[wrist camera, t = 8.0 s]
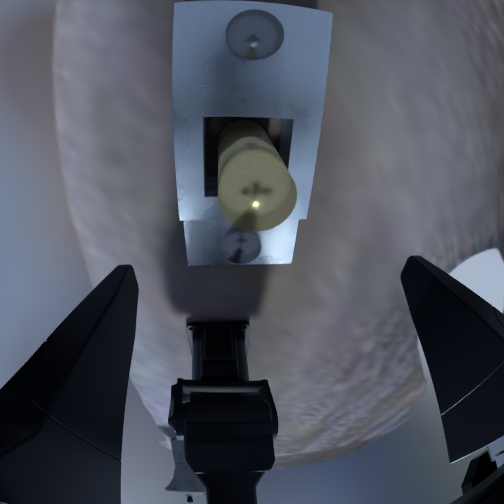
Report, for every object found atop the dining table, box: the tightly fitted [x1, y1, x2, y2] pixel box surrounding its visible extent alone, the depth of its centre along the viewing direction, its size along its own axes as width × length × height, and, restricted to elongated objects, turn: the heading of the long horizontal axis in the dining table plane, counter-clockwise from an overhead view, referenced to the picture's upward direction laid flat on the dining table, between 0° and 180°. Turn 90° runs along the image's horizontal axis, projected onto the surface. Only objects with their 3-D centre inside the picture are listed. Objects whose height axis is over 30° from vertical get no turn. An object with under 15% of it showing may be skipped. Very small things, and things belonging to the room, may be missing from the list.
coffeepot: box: [165, 439, 206, 502], centre depth 54 cm, size 15×9×18 cm, turn 51°
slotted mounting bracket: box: [172, 0, 333, 266], centre depth 16 cm, size 18×8×4 cm, turn 177°
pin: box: [218, 119, 297, 232], centre depth 14 cm, size 3×3×8 cm
